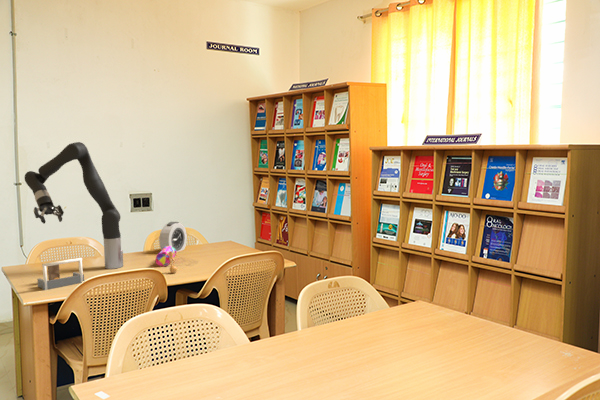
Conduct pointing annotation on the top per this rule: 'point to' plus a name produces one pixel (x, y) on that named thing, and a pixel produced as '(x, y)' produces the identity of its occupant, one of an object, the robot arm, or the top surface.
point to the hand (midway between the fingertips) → (52, 221)
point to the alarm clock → (173, 236)
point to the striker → (53, 272)
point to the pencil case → (161, 256)
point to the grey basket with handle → (62, 281)
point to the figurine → (172, 268)
